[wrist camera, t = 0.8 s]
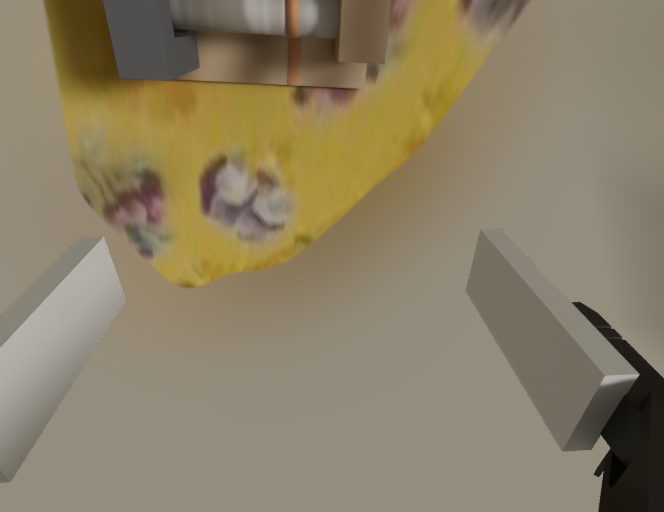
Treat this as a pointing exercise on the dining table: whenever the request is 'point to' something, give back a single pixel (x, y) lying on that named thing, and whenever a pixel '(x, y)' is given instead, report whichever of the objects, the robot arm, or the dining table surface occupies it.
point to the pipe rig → (285, 40)
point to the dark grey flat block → (149, 40)
